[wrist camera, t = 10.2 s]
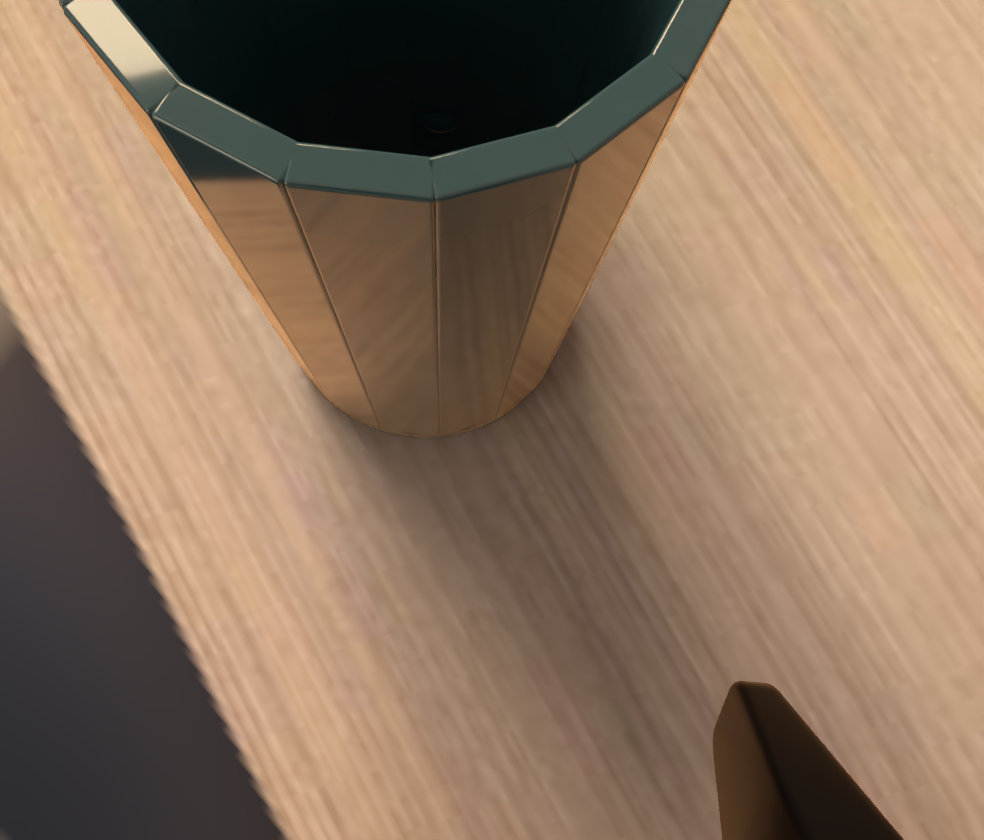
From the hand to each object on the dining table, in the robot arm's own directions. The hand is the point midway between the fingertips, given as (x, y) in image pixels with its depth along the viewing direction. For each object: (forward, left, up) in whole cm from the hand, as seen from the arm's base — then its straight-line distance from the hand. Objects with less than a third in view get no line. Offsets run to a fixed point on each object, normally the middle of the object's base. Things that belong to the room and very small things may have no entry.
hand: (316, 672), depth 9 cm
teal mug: (+6, -7, -11) cm, 14 cm away
